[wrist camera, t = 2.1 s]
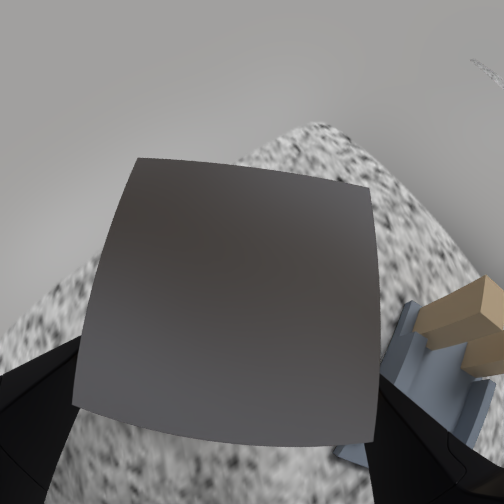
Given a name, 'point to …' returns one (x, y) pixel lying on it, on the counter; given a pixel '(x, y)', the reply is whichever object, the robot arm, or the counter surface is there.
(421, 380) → the base with wooden posts
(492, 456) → the counter surface
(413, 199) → the counter surface
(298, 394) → the rail end
